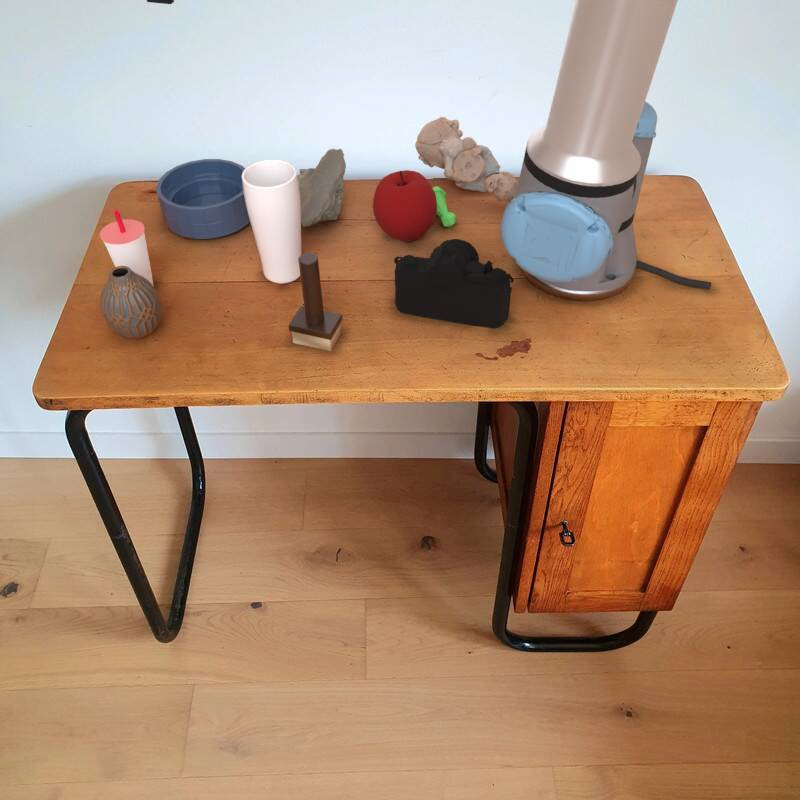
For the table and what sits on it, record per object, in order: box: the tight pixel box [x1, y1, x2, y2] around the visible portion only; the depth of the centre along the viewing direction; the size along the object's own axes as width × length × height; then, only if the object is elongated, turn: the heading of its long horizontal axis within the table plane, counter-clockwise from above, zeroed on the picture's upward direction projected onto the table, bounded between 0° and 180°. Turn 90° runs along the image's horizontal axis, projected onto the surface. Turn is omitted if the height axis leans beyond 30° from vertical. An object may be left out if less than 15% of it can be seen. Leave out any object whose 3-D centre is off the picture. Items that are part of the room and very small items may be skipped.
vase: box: [100, 266, 163, 339], centre depth 94 cm, size 7×7×9 cm
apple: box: [372, 169, 437, 242], centre depth 106 cm, size 9×9×10 cm
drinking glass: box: [242, 159, 303, 285], centre depth 99 cm, size 7×7×15 cm
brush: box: [288, 252, 343, 352], centre depth 91 cm, size 5×4×12 cm
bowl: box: [155, 158, 250, 240], centre depth 112 cm, size 13×13×6 cm
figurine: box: [414, 116, 519, 203], centre depth 116 cm, size 9×8×20 cm
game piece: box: [432, 186, 458, 228], centre depth 111 cm, size 4×4×6 cm
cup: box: [99, 209, 154, 286], centre depth 98 cm, size 5×5×12 cm
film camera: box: [393, 238, 515, 329], centre depth 97 cm, size 15×10×9 cm, turn 74°
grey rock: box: [297, 148, 347, 228], centre depth 111 cm, size 14×10×10 cm
